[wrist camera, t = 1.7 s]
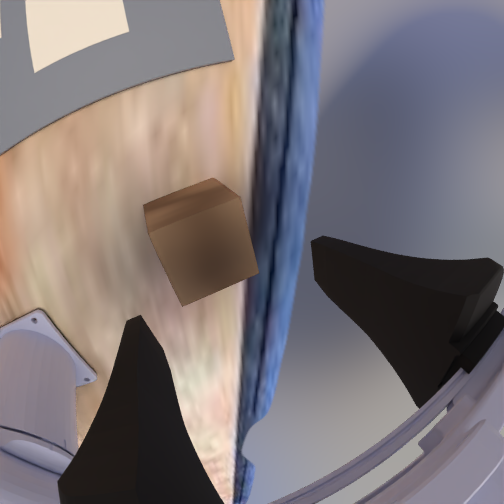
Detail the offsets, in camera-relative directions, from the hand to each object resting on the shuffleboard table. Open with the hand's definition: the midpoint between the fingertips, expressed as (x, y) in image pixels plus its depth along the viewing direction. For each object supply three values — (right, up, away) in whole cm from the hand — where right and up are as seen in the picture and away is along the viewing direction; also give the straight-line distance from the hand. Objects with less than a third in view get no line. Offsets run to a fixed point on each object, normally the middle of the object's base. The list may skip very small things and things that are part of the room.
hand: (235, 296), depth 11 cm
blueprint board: (-9, +14, -2) cm, 17 cm away
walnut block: (-3, +3, +7) cm, 8 cm away
